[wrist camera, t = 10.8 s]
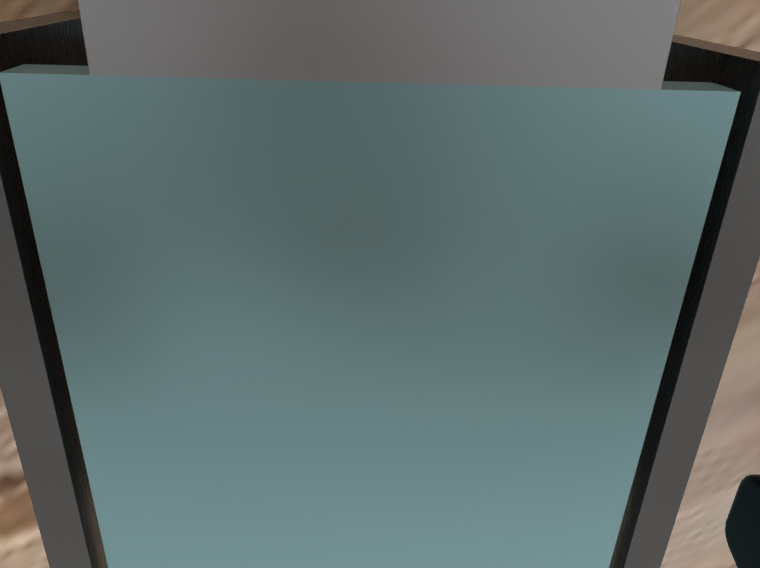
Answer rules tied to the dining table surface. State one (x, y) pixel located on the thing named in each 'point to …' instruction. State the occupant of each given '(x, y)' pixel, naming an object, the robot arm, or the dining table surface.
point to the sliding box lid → (365, 271)
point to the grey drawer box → (674, 397)
